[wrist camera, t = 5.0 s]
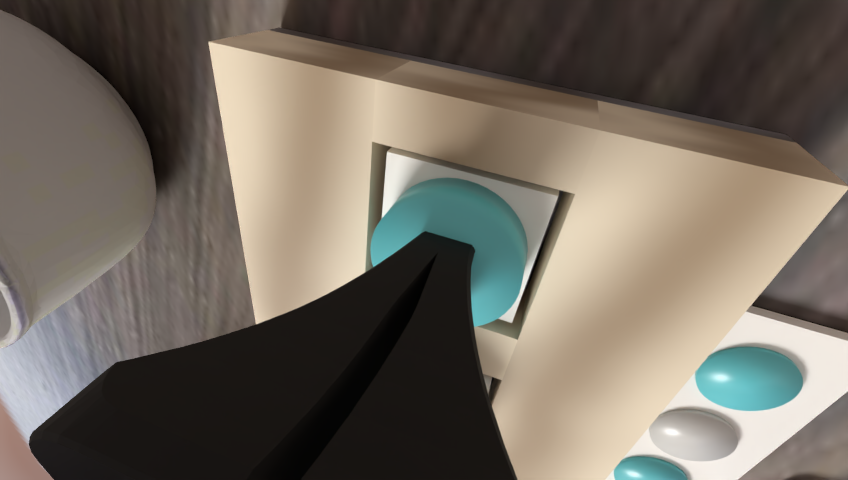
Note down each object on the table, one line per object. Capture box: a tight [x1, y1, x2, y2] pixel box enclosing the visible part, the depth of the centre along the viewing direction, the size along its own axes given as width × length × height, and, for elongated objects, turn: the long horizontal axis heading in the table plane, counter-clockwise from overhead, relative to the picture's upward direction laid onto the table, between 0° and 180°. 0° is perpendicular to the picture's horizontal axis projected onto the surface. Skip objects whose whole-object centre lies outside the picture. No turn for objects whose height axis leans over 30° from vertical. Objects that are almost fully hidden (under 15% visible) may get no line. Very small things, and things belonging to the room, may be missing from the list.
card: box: [605, 306, 848, 480], centre depth 16 cm, size 5×12×1 cm, turn 174°
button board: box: [209, 28, 848, 480], centre depth 16 cm, size 14×22×3 cm, turn 174°
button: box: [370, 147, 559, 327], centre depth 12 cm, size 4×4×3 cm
